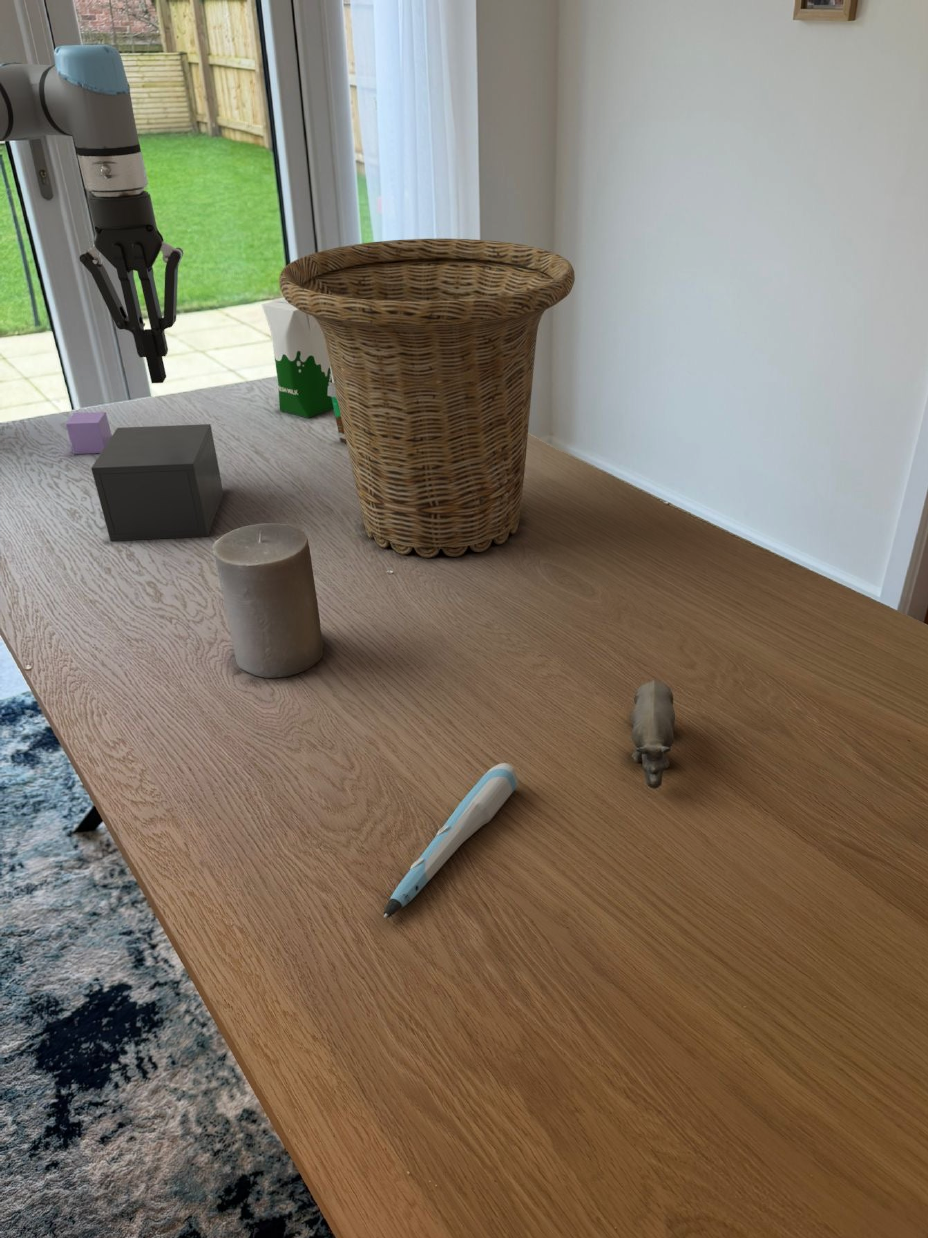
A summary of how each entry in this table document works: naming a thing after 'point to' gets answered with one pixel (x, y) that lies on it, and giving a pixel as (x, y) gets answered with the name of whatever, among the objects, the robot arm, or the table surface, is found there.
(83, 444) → the purple cube
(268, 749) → the table surface
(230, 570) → the pillar candle
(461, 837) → the pen
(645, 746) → the rhino figurine
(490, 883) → the table surface
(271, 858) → the table surface
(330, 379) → the milk carton
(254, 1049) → the table surface
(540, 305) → the wicker basket
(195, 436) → the dark gray box
